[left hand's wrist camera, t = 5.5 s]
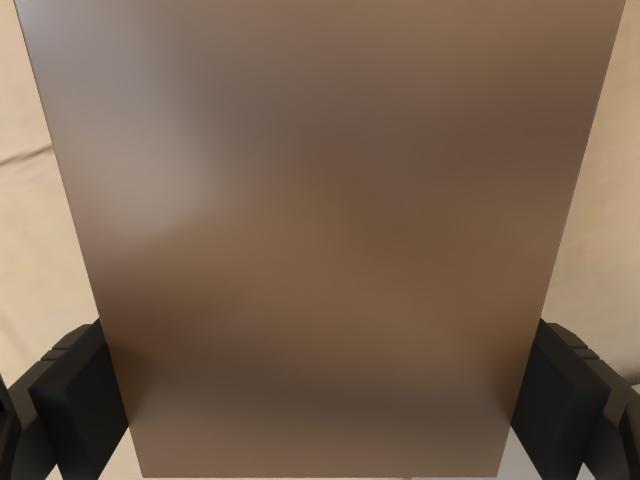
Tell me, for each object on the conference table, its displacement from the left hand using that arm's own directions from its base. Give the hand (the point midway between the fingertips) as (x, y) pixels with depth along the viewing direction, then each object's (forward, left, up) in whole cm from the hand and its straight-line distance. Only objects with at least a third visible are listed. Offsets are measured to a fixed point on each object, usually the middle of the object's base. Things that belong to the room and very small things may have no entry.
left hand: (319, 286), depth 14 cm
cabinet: (+6, +2, -7) cm, 10 cm away
